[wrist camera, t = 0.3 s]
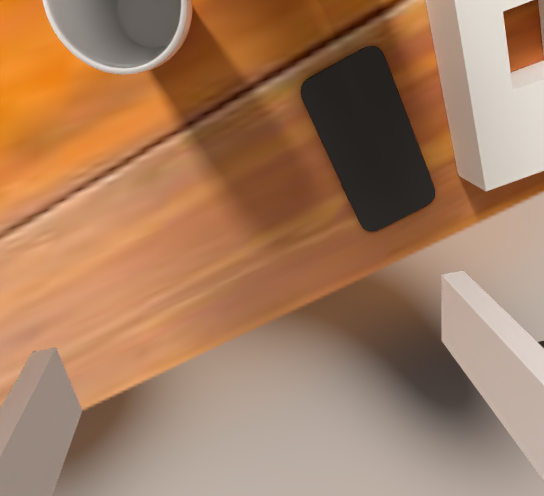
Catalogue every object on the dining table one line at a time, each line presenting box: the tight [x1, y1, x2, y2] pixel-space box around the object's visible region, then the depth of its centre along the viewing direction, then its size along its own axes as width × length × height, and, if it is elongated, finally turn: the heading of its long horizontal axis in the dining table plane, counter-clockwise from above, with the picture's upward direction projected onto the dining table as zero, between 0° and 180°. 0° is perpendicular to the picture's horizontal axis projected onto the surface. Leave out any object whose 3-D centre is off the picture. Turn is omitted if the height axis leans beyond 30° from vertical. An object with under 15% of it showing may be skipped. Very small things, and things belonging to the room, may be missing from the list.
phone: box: [301, 46, 435, 232], centre depth 42 cm, size 7×1×15 cm
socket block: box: [425, 0, 544, 191], centre depth 37 cm, size 20×12×5 cm, turn 19°
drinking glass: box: [43, 0, 192, 75], centre depth 29 cm, size 7×7×15 cm
